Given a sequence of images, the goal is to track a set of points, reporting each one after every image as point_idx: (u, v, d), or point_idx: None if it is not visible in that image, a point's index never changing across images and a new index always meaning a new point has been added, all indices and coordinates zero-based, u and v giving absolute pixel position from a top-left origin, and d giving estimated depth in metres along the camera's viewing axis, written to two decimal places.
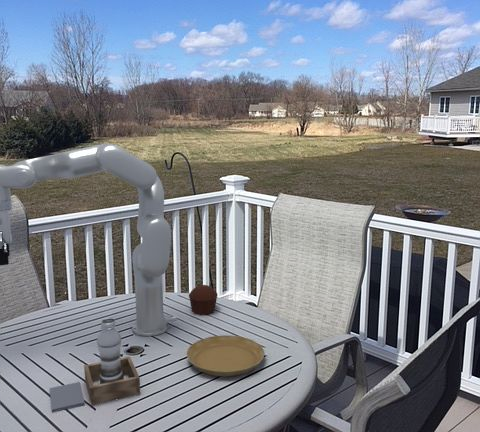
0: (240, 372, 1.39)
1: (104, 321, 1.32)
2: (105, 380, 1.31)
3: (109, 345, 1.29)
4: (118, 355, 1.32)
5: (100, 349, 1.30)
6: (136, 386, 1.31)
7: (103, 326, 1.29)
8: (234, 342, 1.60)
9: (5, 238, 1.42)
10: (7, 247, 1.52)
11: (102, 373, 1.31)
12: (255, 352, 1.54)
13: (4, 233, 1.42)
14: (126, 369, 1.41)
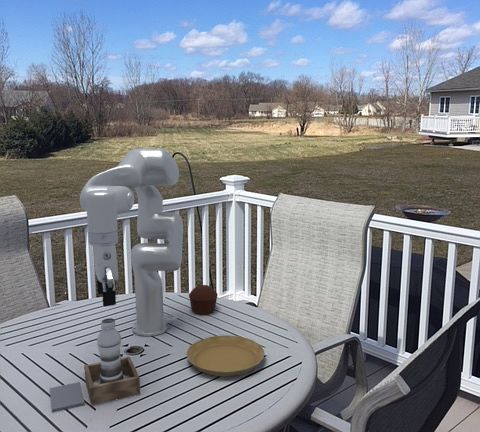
0: (240, 372, 1.39)
1: (104, 321, 1.32)
2: (105, 380, 1.31)
3: (109, 345, 1.29)
4: (118, 355, 1.32)
5: (100, 349, 1.30)
6: (136, 386, 1.31)
7: (103, 326, 1.29)
8: (234, 342, 1.60)
9: (113, 275, 1.24)
10: None
11: (102, 373, 1.31)
12: (255, 352, 1.54)
13: (112, 269, 1.23)
14: (126, 369, 1.41)
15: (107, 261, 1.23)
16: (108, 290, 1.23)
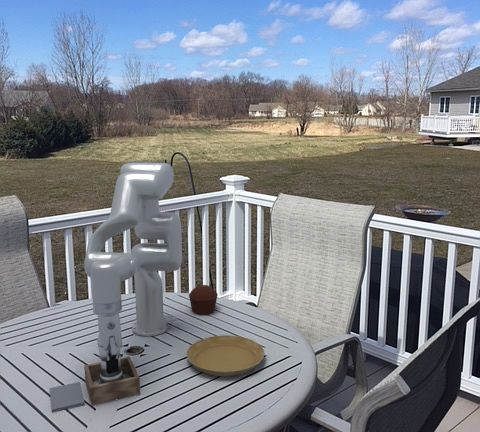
0: (240, 372, 1.39)
1: None
2: (105, 380, 1.31)
3: None
4: (118, 355, 1.32)
5: (100, 349, 1.30)
6: (136, 386, 1.31)
7: None
8: (234, 342, 1.60)
9: None
10: None
11: (102, 373, 1.31)
12: (255, 352, 1.54)
13: (116, 338, 1.27)
14: (126, 369, 1.41)
15: (111, 330, 1.27)
16: (111, 359, 1.28)
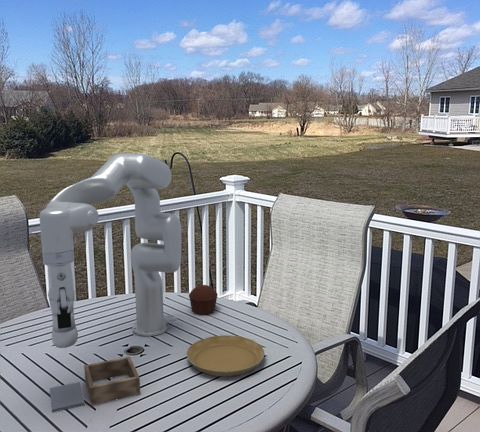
0: (240, 372, 1.39)
1: None
2: (57, 336, 1.24)
3: (60, 298, 1.22)
4: (71, 310, 1.24)
5: (51, 302, 1.22)
6: (136, 386, 1.31)
7: None
8: (234, 342, 1.60)
9: (69, 299, 1.21)
10: None
11: (54, 329, 1.24)
12: (255, 352, 1.54)
13: (67, 290, 1.20)
14: (126, 369, 1.41)
15: (61, 281, 1.19)
16: (62, 313, 1.21)
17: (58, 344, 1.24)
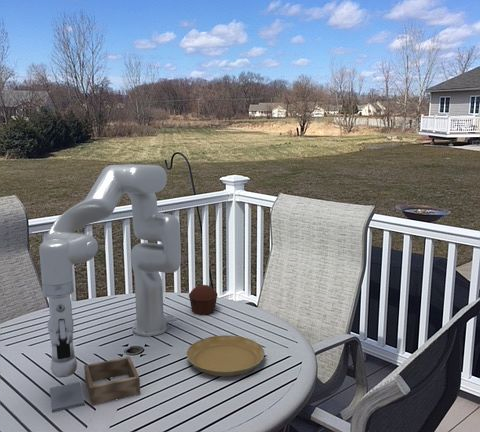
0: (240, 372, 1.39)
1: None
2: (56, 366, 1.25)
3: None
4: (70, 340, 1.26)
5: (50, 333, 1.24)
6: (136, 386, 1.31)
7: None
8: (234, 342, 1.60)
9: (68, 330, 1.22)
10: None
11: (53, 359, 1.25)
12: (255, 352, 1.54)
13: (67, 321, 1.21)
14: (126, 369, 1.41)
15: (61, 313, 1.20)
16: (62, 344, 1.22)
17: (57, 374, 1.25)
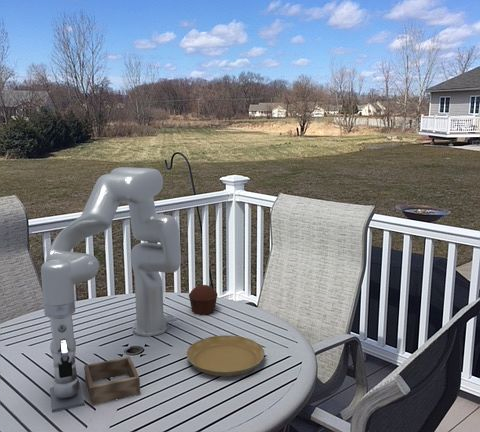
0: (240, 372, 1.39)
1: None
2: (58, 387, 1.26)
3: None
4: (72, 361, 1.27)
5: (53, 355, 1.25)
6: (136, 386, 1.31)
7: None
8: (234, 342, 1.60)
9: (69, 347, 1.23)
10: None
11: (56, 380, 1.27)
12: (255, 352, 1.54)
13: (68, 341, 1.22)
14: (126, 369, 1.41)
15: (62, 333, 1.21)
16: (63, 363, 1.21)
17: (60, 395, 1.26)
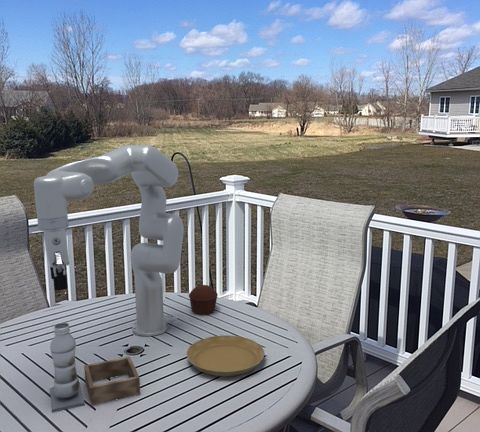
0: (240, 372, 1.39)
1: (58, 326, 1.27)
2: (58, 387, 1.26)
3: (62, 351, 1.24)
4: (72, 361, 1.27)
5: (53, 355, 1.25)
6: (136, 386, 1.31)
7: (56, 331, 1.24)
8: (234, 342, 1.60)
9: (64, 260, 1.26)
10: None
11: (56, 380, 1.27)
12: (255, 352, 1.54)
13: (62, 254, 1.25)
14: (126, 369, 1.41)
15: (57, 246, 1.24)
16: (58, 275, 1.25)
17: (60, 395, 1.26)
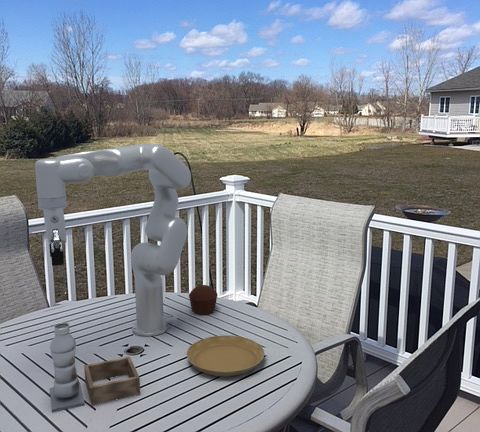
0: (240, 372, 1.39)
1: (58, 326, 1.27)
2: (58, 387, 1.26)
3: (62, 351, 1.24)
4: (72, 361, 1.27)
5: (53, 355, 1.25)
6: (136, 386, 1.31)
7: (56, 331, 1.24)
8: (234, 342, 1.60)
9: (61, 237, 1.35)
10: None
11: (56, 380, 1.27)
12: (255, 352, 1.54)
13: (60, 232, 1.34)
14: (126, 369, 1.41)
15: (55, 224, 1.34)
16: (56, 250, 1.34)
17: (60, 395, 1.26)
